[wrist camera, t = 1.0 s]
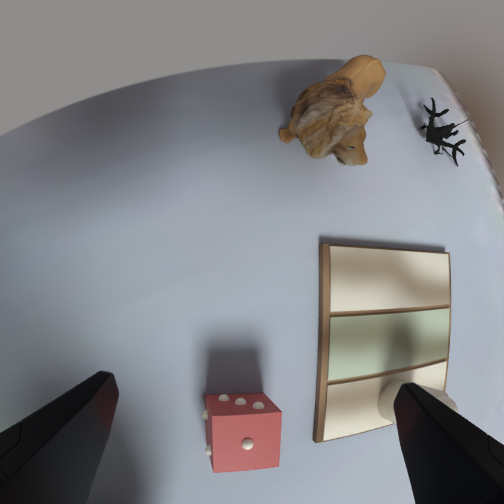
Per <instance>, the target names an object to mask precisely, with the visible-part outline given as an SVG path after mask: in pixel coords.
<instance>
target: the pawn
mask: <svg viewBox="0 0 504 504" xmlns="http://www.w3.org/2000/svg"><path fill="white" fill-rule="evenodd" d="M403 383H409V381H406V380H403V379H396V380H394V381H392V382H390V383H389V384H388V385H387V386H386V387H385V388H384V389H383V391H382V392H381V394H380V396H379V399H378V405H377V408H378V413H379V415H380V416H381V417H382V418H384V419H386V420H388V421H390V422H392V423H394V424H396V418H395V413H394V408H393V403H394V399H395V397H396V395H397V393H398V391H399V388H400V386H401V385H402V384H403ZM417 385H419V386H420V387H422V388H423V389H424V390H426V391H427V392H429V393H430V394H431V395H433V396H434V397H436V398H437V399H438V400H440V401H441V402H443V403H444V404H446V405H447V406H448V407H450V408H451V409H453V410H454V411H455V412H457V413H458V408H457V405H456V403H455V402H454V401H453V400H452V399H451V398H449V397H448V395H447V393H446V392H444V391H441V390H437V389H434V388H430V387H427V386H423V385H420V384H417ZM396 425H397V424H396Z"/></svg>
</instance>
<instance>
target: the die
mask: <svg viewBox="0 0 504 504" xmlns="http://www.w3.org/2000/svg"><path fill="white" fill-rule="evenodd" d="M205 401H206V410H204V411H203V412H202V417H203V418H204V419H205V420H206V439H207V447H206V448H205V452H206V453H207V454H208V455H209V456H210V460H211V464H212V468H213V472H214V473H218V472H234V471H246V470H256V469H265V468H273V467H279V458H280V439H281V419H282V411H281V410H280V409H279V408H278V407H277V406H276V405H275V404H274V403H273V402H272V401H271V400H270V399H269V398H268V397H267V396H266V395H265V394H264V393H250V394H222V395H205Z"/></svg>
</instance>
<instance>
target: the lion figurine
mask: <svg viewBox="0 0 504 504" xmlns="http://www.w3.org/2000/svg"><path fill="white" fill-rule="evenodd" d="M385 74H386V72H385V69H384V68H383V66H382V63H381V61H380V60H379V59H376V58H373V57H372V56H368V55H360V56H357V57H354V58H352V59H350V60H349V61H348V62H347V63H346V64H345V65H344V66H343V67H342V68H341V69H340V70H339V71H337V72H335V73H334V74H332V75H330V76H329V77H328V78H326V79H325V80H324V81H323V82H320V83H316V84H313V85H312V86H310V87H308V88H307V89H305V90H304V91H303V92H302V93H301V95H300V96H299V97H298V99H297V101H296V103H295V105H294V106H293V108H292V110H291V113H290V116H291V120H290V122H289V125H288V127H286V128H283V129H281V130H280V131H279V138H280V139H281V141H283V142H285V143H289V142H291V141H292V140H293V139H295V138H296V137H297V138H299V140H300V142H301V144H302V146H303V147H304V148H305V150H306V152H307V153H308V154H309V155H310V156H311V157H313V158H317V159H319V158H320V159H323V158H324V157H326V156H328V155H330V154H332V153H333V154H334V155H335V157H336V159H337V160H338V162H339V164H341V165H346V164H347V165H348V166H356V165H364V164H366V163H367V156H366V153H365V149H364V145H363V142H364V140H365V137H366V132H365V129H364V126H365V124H366V122H367V121H368V119H369V118H370V117H371V116H372V112H371V111H369V110H368V109H367V108H366V107H365V106H364V105H363V101H364V99H365V98H369V97H371V96H372V95H374V94H375V93H376V92H377V91H378V89H379V88H380V86H381V84H382V82H383V80H384V78H385Z"/></svg>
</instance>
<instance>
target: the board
mask: <svg viewBox="0 0 504 504" xmlns="http://www.w3.org/2000/svg"><path fill="white" fill-rule="evenodd" d="M319 268H320V298H319V346H318V371H317V390H316V406H315V420H314V432H313V441H314V442H315V443H320V442H325V441H330V440H334V439H339V438H343V437H348V436H352V435H356V434H360V433H364V432H368V431H371V430H375V429H378V428H382V427H385V426H389V425H392V424H394V423H392V422H390V421H388V420H386V419H384V418H382V417H381V416H380V415H379V413H378V408H377V405H378V399H379V396H380V394H381V392H382V391H383V389H384V388H385V387H386V386H387V385H388V384H389V383H390V382H392V381H394V380H396V379H403V380H406V381H409V382H414V383H416V384H420V385H423V386H427V387H430V388H434V389H437V390H441V391H444V392H445V387H446V379H447V370H448V359H449V347H450V329H451V268H450V253H448V252H435V251H422V250H409V249H396V248H382V247H368V246H354V245H340V244H325V243H322V244H320V245H319Z"/></svg>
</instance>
